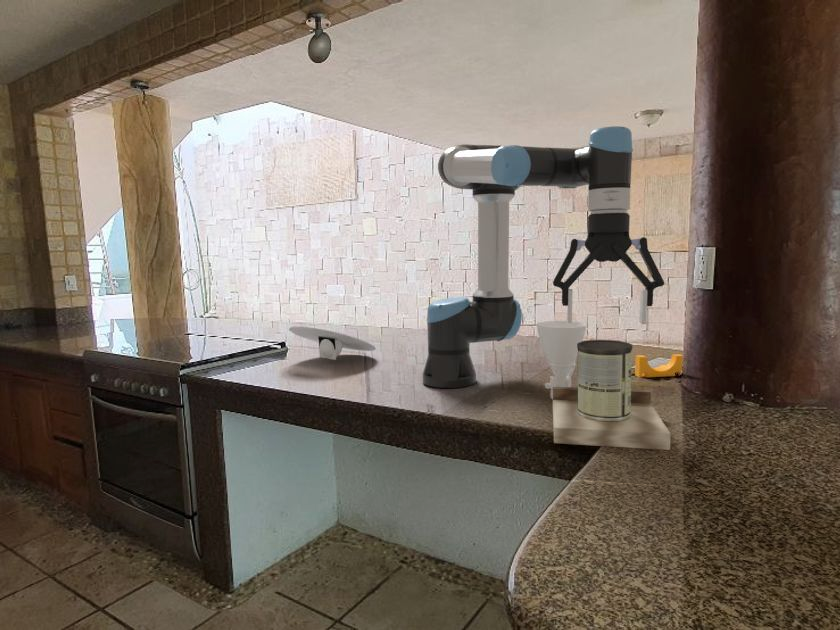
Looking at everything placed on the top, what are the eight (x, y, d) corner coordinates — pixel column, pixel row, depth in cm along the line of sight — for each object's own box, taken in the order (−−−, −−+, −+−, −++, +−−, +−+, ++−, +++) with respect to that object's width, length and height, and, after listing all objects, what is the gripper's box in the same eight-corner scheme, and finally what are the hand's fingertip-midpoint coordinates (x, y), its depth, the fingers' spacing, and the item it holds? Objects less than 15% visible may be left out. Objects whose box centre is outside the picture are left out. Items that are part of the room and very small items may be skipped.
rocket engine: (527, 394, 131) (527, 322, 128) (566, 389, 134) (567, 319, 132) (554, 406, 120) (554, 329, 118) (595, 400, 124) (597, 325, 121)
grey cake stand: (268, 339, 179) (322, 323, 201) (292, 389, 177) (344, 368, 200) (319, 304, 164) (371, 291, 186) (345, 359, 162) (395, 339, 184)
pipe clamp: (674, 375, 146) (675, 352, 146) (682, 379, 142) (683, 355, 141) (632, 376, 146) (632, 354, 145) (639, 380, 142) (639, 357, 141)
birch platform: (553, 443, 98) (554, 414, 97) (552, 410, 117) (552, 386, 116) (670, 449, 93) (671, 420, 92) (648, 415, 112) (649, 390, 112)
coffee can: (572, 405, 110) (572, 339, 109) (623, 406, 109) (624, 339, 107) (581, 421, 100) (582, 349, 98) (637, 422, 99) (639, 348, 97)
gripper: (541, 213, 99) (540, 324, 102) (684, 209, 93) (679, 326, 96) (541, 215, 106) (540, 319, 109) (675, 211, 101) (670, 320, 103)
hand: (605, 322), depth 103 cm, fingers open, 13 cm apart
